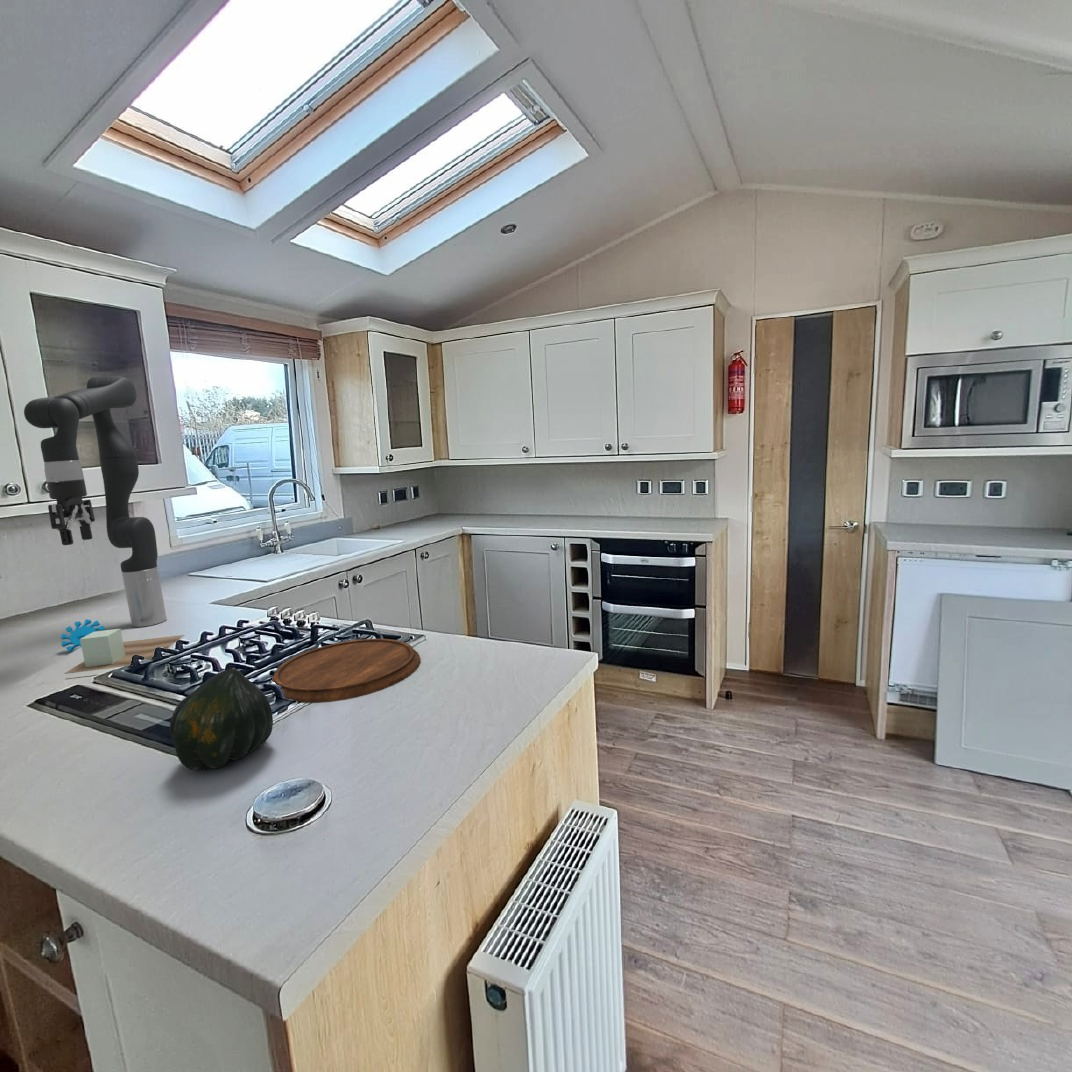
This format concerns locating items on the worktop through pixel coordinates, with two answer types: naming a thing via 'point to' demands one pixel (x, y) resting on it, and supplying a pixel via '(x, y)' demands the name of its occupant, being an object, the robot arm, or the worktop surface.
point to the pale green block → (102, 647)
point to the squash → (220, 721)
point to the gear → (79, 633)
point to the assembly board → (131, 653)
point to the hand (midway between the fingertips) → (78, 542)
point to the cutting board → (346, 670)
